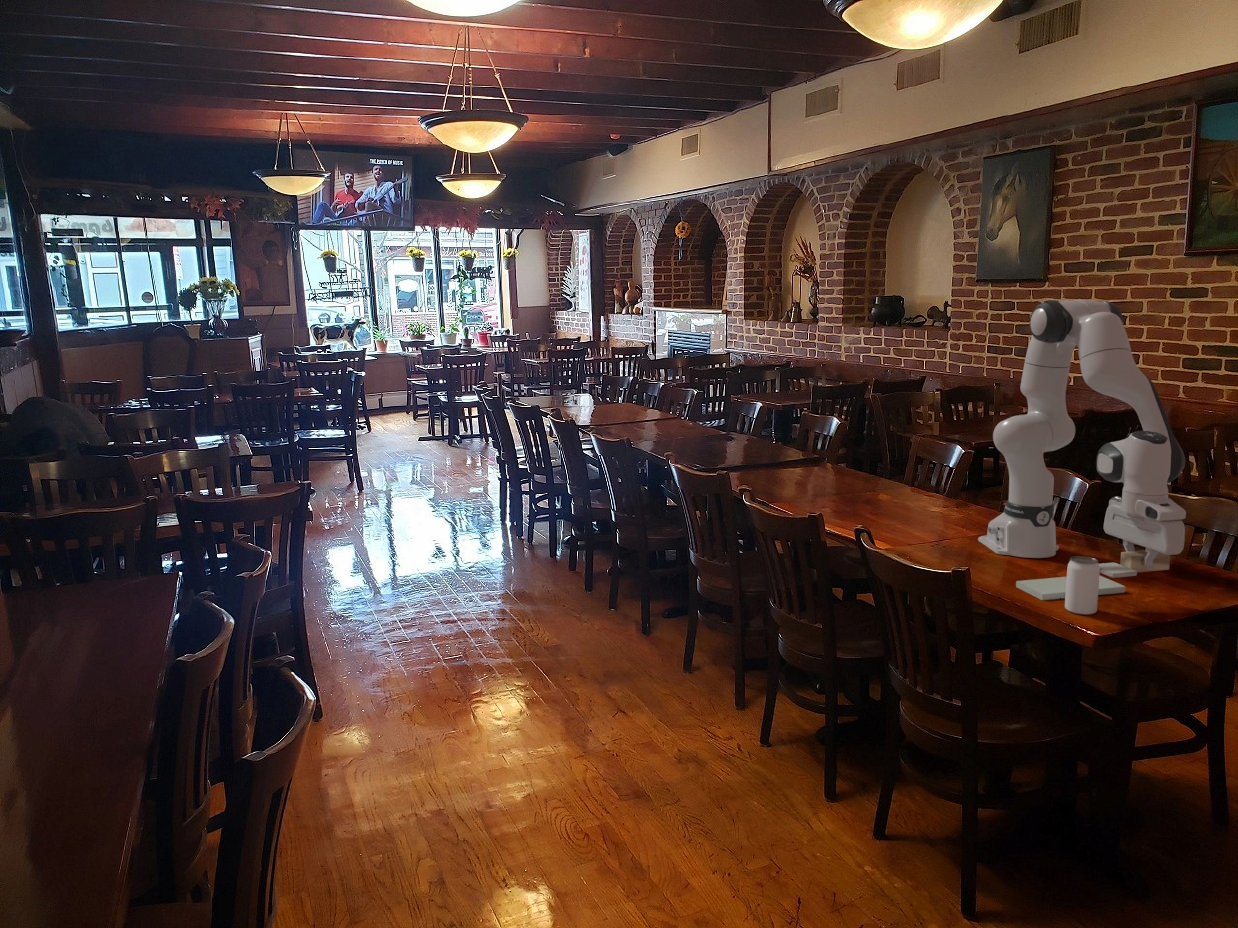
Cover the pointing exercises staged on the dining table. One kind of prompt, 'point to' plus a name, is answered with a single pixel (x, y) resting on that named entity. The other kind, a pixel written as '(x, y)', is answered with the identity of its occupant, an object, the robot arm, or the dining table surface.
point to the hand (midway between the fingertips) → (1139, 562)
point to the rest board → (1063, 587)
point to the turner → (1134, 564)
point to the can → (1082, 585)
